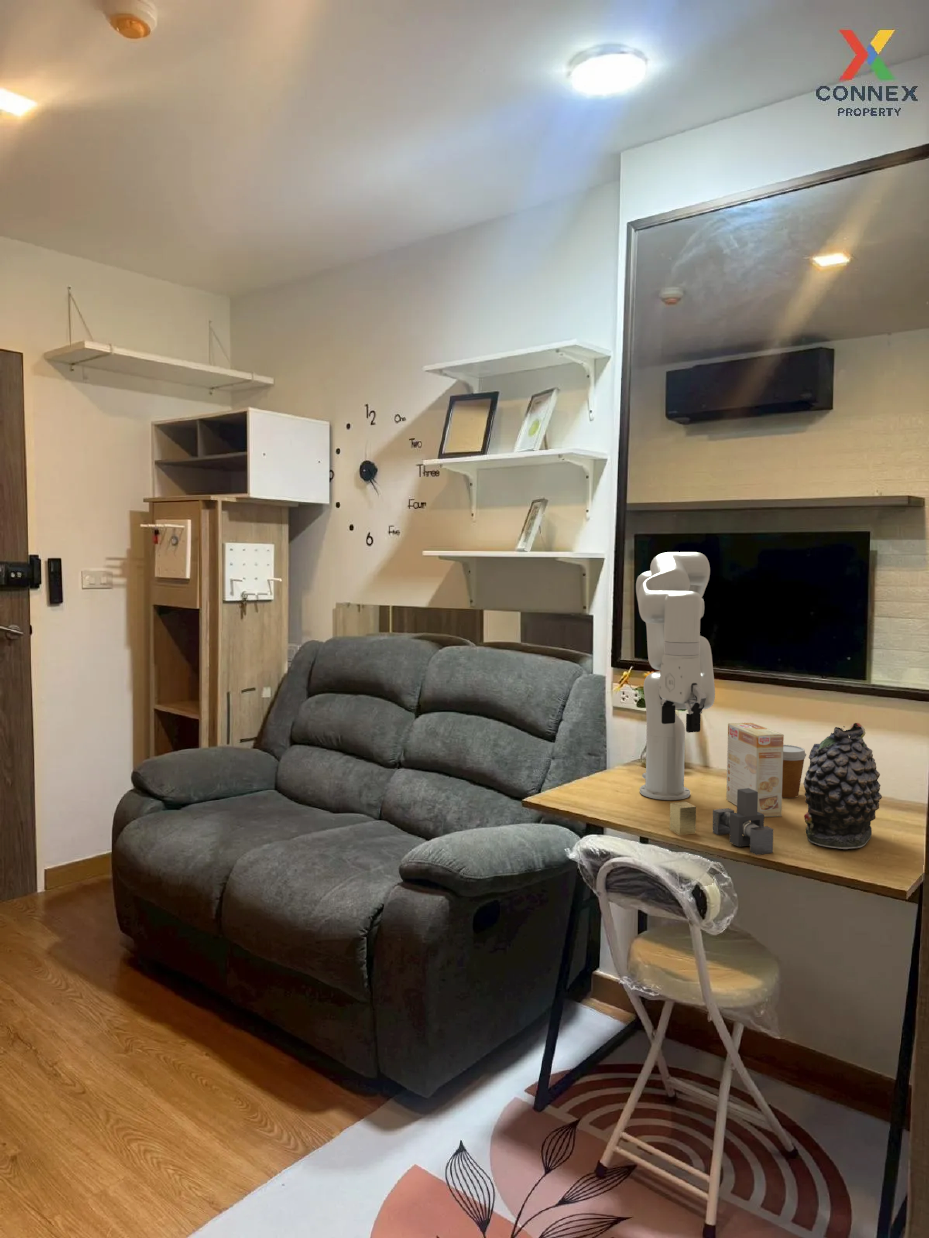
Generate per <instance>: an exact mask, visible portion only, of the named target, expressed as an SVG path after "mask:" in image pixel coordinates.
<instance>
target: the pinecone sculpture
mask: <svg viewBox="0 0 929 1238" xmlns="http://www.w3.org/2000/svg"><path fill="white" fill-rule="evenodd" d="M845 728H846V726H844V725H843V728H842V727H839V726H834V729H833V733H832V732H831V733H830V735H828V736H826V737H825V739H823V740H822V741H821V742H820V743H814V744H813V745H812V747H811V750H810V752H809V755H808V759H809V766H808V768H807V771H806V772H805V777H804V781H803V787H804V790H805V792H804V797H805V800H804V802H805V803H806V805H807V812H806V813H804V815H803V818H804V823H805V824H806V828H805V831H804V833H805V834H806V837H807V840H808V842H810V843H812V844H813V845H814V844H815V845H817V846H820V847H824V848H825V847H826V848H833V849H840V850H841V849H843V850H848V849H858V848H863V847H864V846H866V844H867V843H868V842H869V840H871V837H872V833H873V832H872V831H873V830H872V829H873V828H872V826H871V822H872V821H874V820H876V818H877V817H876V812H877V810H880V800H882V799H883V795H882V794H881V793H880V790H881V784H880V782H879V781H878V780H879V778H880V776H881V773H880V772H879V771H878V770H877V762H876V759H875V758H874V757H873V755H874V754H873V749H871V748H869V747H868V745H867V743H865V741H864V736H865V735H866V730H865V728H864V726H863V725H862V724H861V723H859V722H855V723H852V724H851V725H850V726H849V727H848V728H847V729H845ZM844 729H845V730H844Z"/></svg>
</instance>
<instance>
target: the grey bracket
mask: <svg viewBox="0 0 929 1238" xmlns="http://www.w3.org/2000/svg"><path fill="white" fill-rule="evenodd" d="M757 807H758V792H757V791H755V790H752V789H750V788H745V789H738V791H737V806H736V812H734V813H730V834H729V843H730V844H733V845H734V846H736V847H737V848H738V847H739V848H740V847H746V846H750V838H747V837H745V836H744V835H743V822H745V821H750V822H753V823H755V824H756V825H757V826H760V827H763V826H765V817H764V814H762V813H759V812H757Z"/></svg>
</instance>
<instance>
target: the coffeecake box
mask: <svg viewBox="0 0 929 1238" xmlns="http://www.w3.org/2000/svg"><path fill="white" fill-rule="evenodd" d="M784 737H785V735H784V734H783V733H780V732H777V731H776V730H772V729H770V728H767V727H764V726H762V725H760V724H757V723H754V722H731V723H729V722H727V755H726V756H727V759H726V760H727V761H726V764H727V765H726V796H725V797H726V798H725V799H726V801H727V802H729V803H732V804H733V805H735V806H736V807H737V791H738V789H745V788H750V789H752V790H755V791H757V792H758V807H757V812H759V813H762V814H764V818H767V817H768V818H771V817H773V818H774V817H783V815H782V809H783V808H782V807H783V797H782V777H783V745H784V739H785V738H784Z"/></svg>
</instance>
